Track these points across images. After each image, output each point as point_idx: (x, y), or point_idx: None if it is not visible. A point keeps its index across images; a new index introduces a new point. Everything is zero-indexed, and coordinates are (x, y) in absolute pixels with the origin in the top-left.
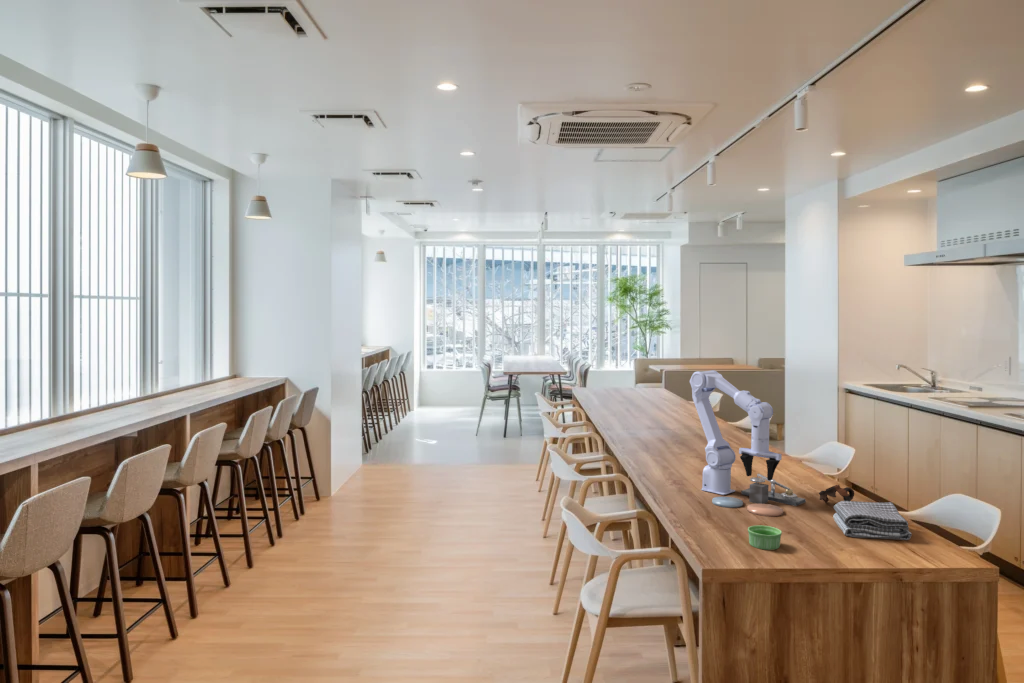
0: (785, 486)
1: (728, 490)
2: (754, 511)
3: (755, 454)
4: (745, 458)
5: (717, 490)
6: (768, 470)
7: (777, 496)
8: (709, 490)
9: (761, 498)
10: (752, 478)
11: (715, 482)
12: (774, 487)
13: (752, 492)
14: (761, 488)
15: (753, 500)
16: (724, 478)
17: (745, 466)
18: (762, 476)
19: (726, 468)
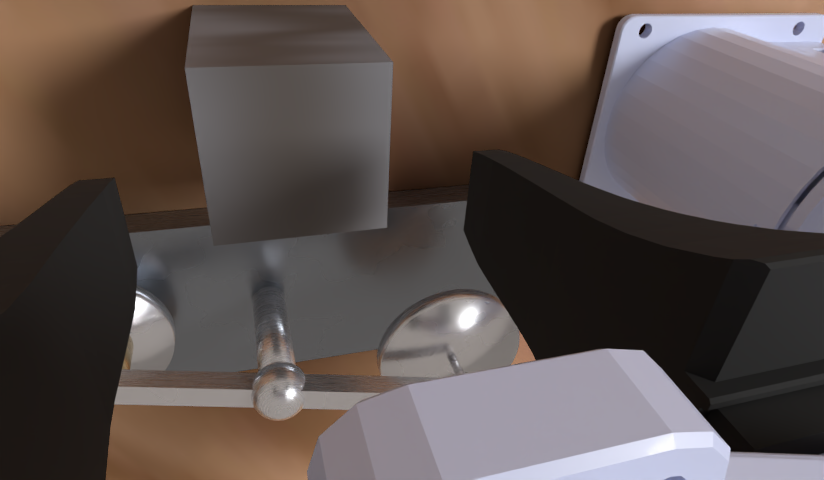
0: (130, 397)
1: (618, 121)
2: None
3: (416, 403)
4: (726, 257)
5: (701, 36)
6: (16, 263)
7: (205, 288)
8: (760, 26)
9: (194, 23)
10: (499, 339)
11: (780, 52)
12: (257, 350)
13: (328, 35)
14: (194, 60)
15: (299, 12)
16: (734, 121)
17: (599, 201)
18: None
19: (815, 196)
